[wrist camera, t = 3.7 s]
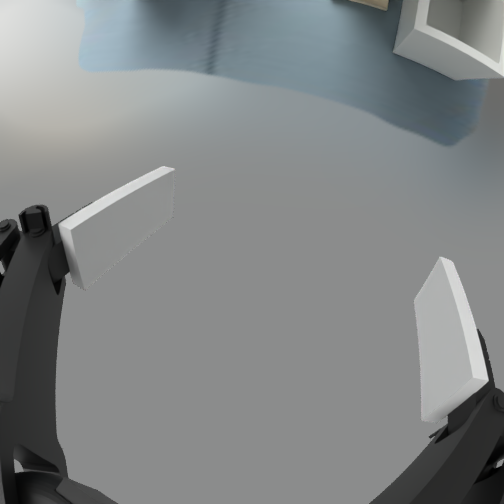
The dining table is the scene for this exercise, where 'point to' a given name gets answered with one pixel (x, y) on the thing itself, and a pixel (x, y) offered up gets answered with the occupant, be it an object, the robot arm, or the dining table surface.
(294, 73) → the dining table surface
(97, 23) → the dining table surface
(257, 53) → the dining table surface
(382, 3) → the birch pedestal
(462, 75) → the white open box
